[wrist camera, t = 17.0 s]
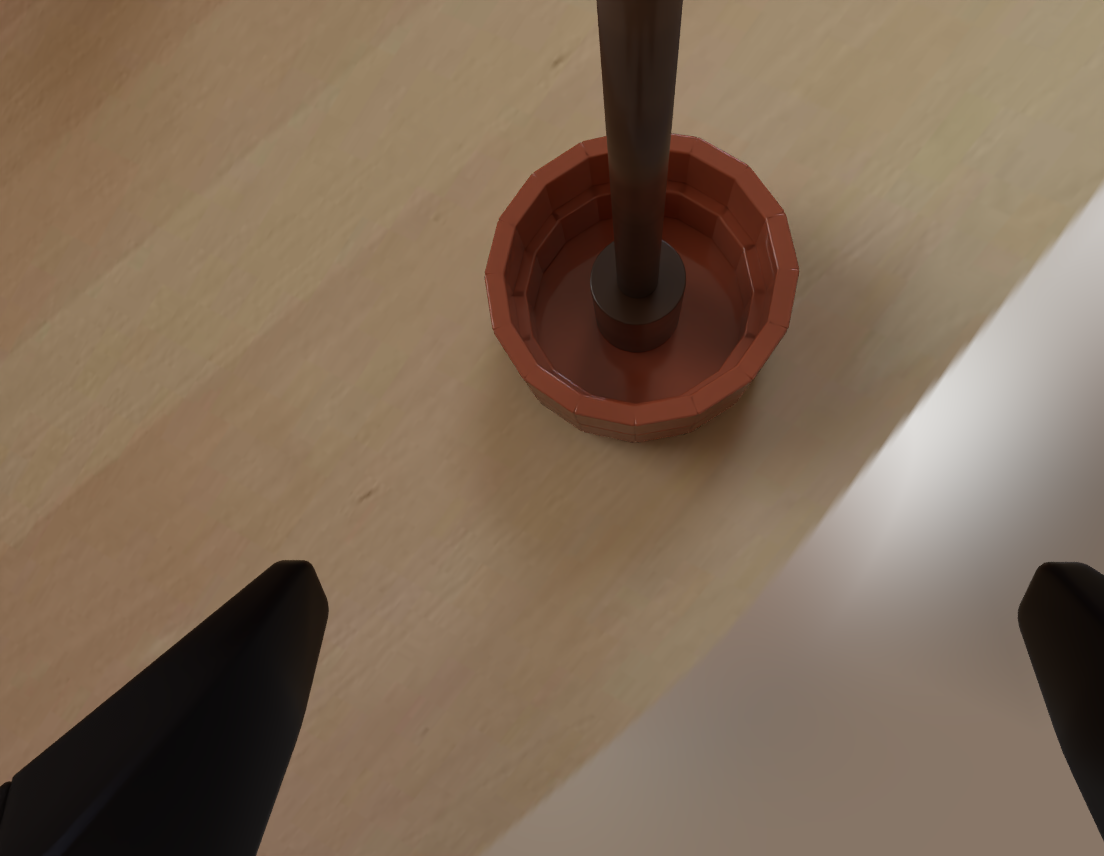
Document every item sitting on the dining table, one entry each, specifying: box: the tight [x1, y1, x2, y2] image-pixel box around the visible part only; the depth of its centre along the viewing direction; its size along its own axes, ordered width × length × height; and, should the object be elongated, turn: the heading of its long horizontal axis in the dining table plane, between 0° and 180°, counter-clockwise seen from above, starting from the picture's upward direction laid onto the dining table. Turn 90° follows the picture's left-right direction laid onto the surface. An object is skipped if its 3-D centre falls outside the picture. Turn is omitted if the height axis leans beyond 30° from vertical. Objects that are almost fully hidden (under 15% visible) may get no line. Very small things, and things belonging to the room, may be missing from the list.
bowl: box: [485, 133, 799, 442], centre depth 21 cm, size 9×9×4 cm
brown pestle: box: [590, 0, 686, 352], centre depth 15 cm, size 3×3×16 cm
